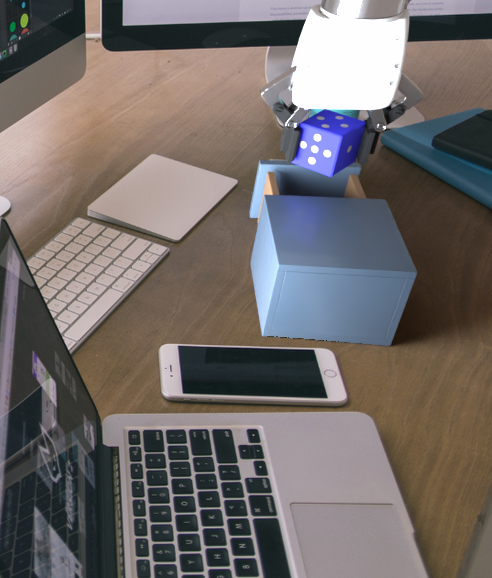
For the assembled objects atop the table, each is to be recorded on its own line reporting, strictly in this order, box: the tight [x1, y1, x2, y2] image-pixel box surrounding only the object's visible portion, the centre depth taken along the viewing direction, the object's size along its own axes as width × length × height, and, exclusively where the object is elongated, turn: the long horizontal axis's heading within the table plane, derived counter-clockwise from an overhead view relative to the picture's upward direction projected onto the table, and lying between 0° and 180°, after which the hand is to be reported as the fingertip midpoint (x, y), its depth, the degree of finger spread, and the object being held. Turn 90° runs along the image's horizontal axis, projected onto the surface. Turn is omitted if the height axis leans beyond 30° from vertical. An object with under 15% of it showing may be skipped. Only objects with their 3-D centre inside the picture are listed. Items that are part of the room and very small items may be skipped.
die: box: [292, 109, 366, 177], centre depth 87 cm, size 5×5×5 cm
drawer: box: [248, 158, 368, 224], centre depth 94 cm, size 17×11×8 cm, turn 168°
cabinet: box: [249, 195, 418, 347], centre depth 84 cm, size 14×13×10 cm
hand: (324, 156), depth 88 cm, fingers closed on die, 6 cm apart
